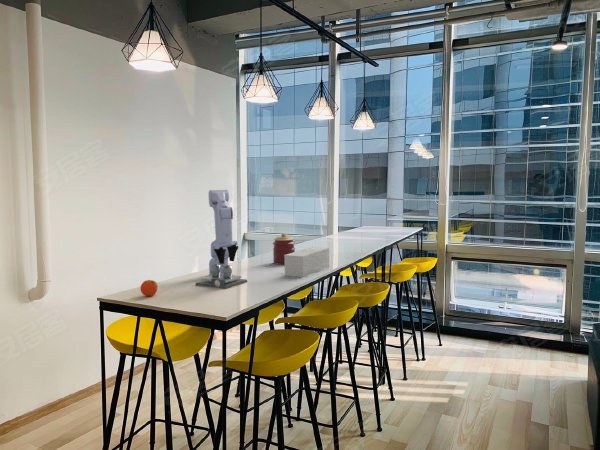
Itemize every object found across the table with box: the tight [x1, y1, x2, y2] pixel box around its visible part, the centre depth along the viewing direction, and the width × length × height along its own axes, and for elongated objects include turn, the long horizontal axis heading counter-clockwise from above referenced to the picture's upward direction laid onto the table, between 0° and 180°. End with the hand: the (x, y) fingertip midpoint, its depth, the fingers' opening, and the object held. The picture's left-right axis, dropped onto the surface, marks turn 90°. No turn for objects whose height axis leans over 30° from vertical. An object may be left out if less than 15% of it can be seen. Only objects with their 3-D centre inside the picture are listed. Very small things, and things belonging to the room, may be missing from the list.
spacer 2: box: [223, 264, 233, 279], centre depth 223 cm, size 4×4×6 cm
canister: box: [272, 232, 296, 265], centre depth 280 cm, size 13×13×18 cm
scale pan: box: [201, 274, 242, 283], centre depth 225 cm, size 14×12×2 cm
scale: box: [195, 278, 248, 290], centre depth 225 cm, size 18×16×4 cm
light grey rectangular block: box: [283, 246, 330, 278], centre depth 253 cm, size 32×11×11 cm, turn 153°
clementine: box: [139, 279, 159, 297], centre depth 202 cm, size 8×7×7 cm
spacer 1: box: [212, 264, 220, 277], centre depth 226 cm, size 4×4×6 cm
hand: (226, 262), depth 223 cm, fingers open, 7 cm apart
